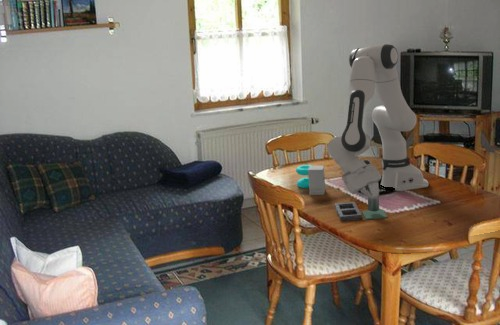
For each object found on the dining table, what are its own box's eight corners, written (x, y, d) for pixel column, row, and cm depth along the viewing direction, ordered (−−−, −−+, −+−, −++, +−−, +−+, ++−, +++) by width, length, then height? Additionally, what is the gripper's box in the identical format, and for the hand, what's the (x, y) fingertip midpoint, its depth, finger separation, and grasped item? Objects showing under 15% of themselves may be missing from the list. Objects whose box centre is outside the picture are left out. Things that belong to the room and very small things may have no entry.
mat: (382, 210, 258) (382, 209, 258) (387, 217, 249) (387, 216, 249) (361, 212, 258) (361, 211, 258) (365, 219, 249) (365, 218, 249)
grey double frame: (354, 205, 267) (354, 201, 266) (361, 219, 250) (361, 214, 250) (334, 207, 267) (334, 203, 266) (340, 221, 250) (340, 216, 250)
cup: (377, 207, 255) (377, 180, 252) (380, 211, 251) (379, 183, 248) (367, 208, 255) (366, 181, 252) (369, 211, 251) (368, 184, 248)
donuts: (291, 167, 300) (307, 163, 305) (293, 186, 303) (308, 181, 308) (303, 171, 292) (319, 166, 297) (305, 190, 295) (320, 185, 300)
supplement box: (324, 194, 285) (323, 169, 282) (309, 195, 287) (307, 170, 284) (325, 189, 292) (324, 165, 289) (310, 190, 294) (309, 165, 291)
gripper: (344, 171, 246) (364, 197, 242) (371, 159, 260) (391, 183, 255) (335, 179, 250) (356, 205, 246) (363, 167, 264) (383, 192, 260)
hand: (374, 194), depth 251 cm, fingers closed on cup, 5 cm apart
